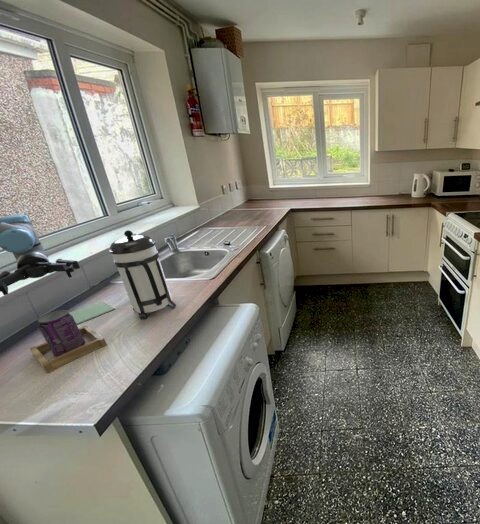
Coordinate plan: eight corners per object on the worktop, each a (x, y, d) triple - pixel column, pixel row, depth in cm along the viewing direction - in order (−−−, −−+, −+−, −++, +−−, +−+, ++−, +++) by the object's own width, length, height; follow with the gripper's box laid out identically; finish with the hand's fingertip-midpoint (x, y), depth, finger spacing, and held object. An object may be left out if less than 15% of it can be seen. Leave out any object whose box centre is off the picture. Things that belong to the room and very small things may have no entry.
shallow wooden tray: (33, 355, 84) (29, 348, 83) (89, 330, 94) (86, 324, 93) (47, 373, 77) (43, 366, 76) (107, 345, 87) (104, 338, 86)
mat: (62, 316, 104) (61, 315, 103) (102, 301, 113) (101, 300, 113) (73, 325, 97) (73, 325, 97) (114, 309, 107) (114, 308, 107)
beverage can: (60, 346, 87) (42, 313, 82) (89, 339, 90) (73, 306, 85) (49, 361, 81) (29, 325, 76) (81, 353, 84) (63, 318, 79)
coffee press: (117, 322, 98) (82, 239, 87) (149, 299, 113) (122, 225, 101) (166, 321, 97) (137, 237, 86) (192, 298, 112) (170, 223, 101)
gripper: (85, 263, 107) (96, 277, 94) (-17, 288, 90) (-21, 311, 77) (77, 244, 104) (87, 256, 91) (-30, 267, 87) (-37, 286, 74)
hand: (37, 281), depth 84 cm, fingers open, 13 cm apart
